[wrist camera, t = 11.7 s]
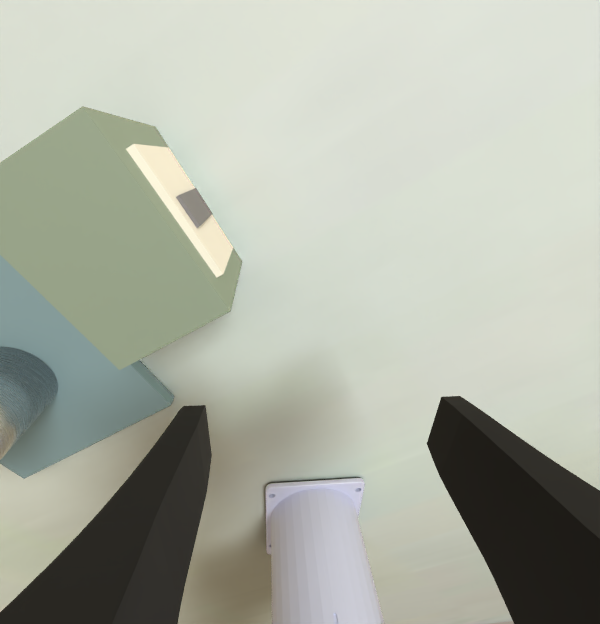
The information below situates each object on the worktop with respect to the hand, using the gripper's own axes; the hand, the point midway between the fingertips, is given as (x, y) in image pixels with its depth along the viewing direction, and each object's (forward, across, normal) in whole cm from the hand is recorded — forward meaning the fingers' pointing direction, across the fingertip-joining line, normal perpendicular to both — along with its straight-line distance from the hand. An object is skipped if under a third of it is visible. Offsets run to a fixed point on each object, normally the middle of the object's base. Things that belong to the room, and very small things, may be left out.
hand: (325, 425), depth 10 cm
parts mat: (+9, +16, +5) cm, 19 cm away
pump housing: (+9, +7, -4) cm, 12 cm away
